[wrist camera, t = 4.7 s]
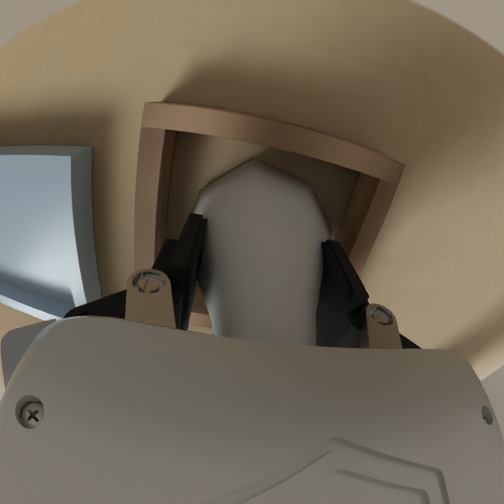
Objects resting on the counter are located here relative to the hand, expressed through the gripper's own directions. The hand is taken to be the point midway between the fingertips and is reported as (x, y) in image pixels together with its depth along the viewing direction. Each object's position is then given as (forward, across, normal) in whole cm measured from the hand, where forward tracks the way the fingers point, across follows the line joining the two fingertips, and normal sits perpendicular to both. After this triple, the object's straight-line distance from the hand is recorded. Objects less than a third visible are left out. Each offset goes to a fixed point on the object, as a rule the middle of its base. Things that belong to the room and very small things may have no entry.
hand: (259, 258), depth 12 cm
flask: (+3, 0, 0) cm, 3 cm away
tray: (+3, +17, +3) cm, 18 cm away
